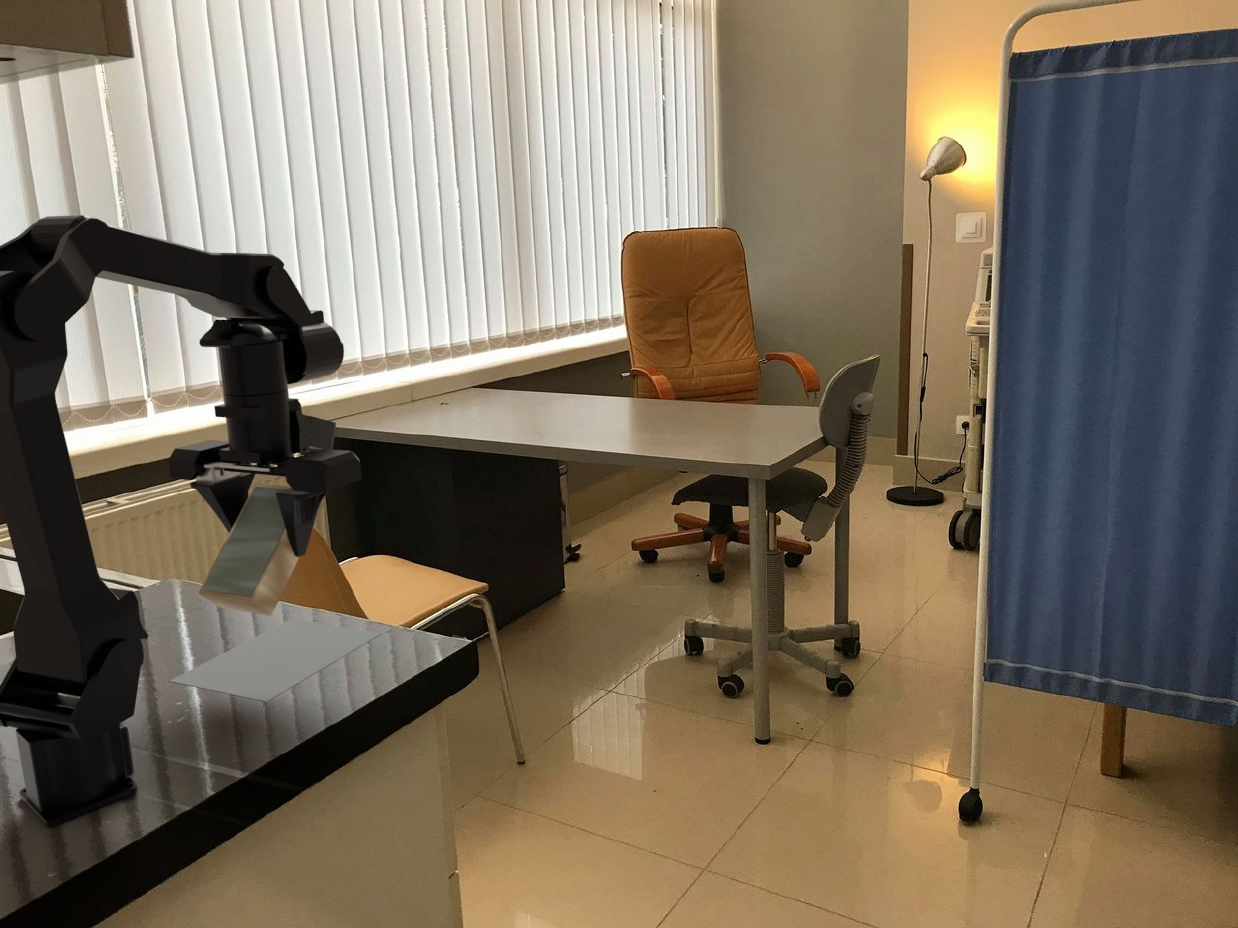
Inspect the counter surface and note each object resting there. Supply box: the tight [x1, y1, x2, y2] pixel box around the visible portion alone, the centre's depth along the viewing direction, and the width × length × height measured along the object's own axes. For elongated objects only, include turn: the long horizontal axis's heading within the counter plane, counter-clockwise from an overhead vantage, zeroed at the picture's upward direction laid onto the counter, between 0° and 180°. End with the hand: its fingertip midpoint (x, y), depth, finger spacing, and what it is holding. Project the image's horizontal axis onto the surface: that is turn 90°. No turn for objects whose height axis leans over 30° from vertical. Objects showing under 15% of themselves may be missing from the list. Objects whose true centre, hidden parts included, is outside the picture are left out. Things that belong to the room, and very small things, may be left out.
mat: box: [169, 617, 383, 703], centre depth 100 cm, size 17×12×1 cm
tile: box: [198, 483, 325, 617], centre depth 95 cm, size 3×6×12 cm
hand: (272, 551), depth 96 cm, fingers closed on tile, 6 cm apart
